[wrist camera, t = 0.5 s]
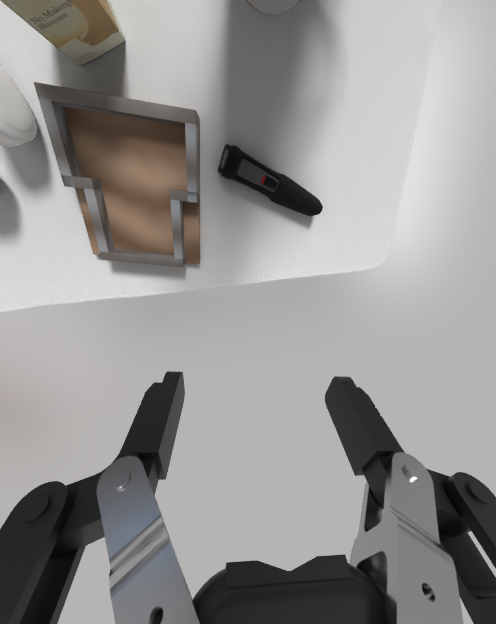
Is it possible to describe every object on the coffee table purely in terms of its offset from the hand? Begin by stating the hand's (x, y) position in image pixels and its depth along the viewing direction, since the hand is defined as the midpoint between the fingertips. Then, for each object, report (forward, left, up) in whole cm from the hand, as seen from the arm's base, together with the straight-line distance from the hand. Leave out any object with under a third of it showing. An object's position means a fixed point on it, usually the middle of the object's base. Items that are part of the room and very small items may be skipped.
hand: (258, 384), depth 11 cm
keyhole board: (-6, -15, -27) cm, 32 cm away
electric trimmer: (-10, +3, -28) cm, 30 cm away
